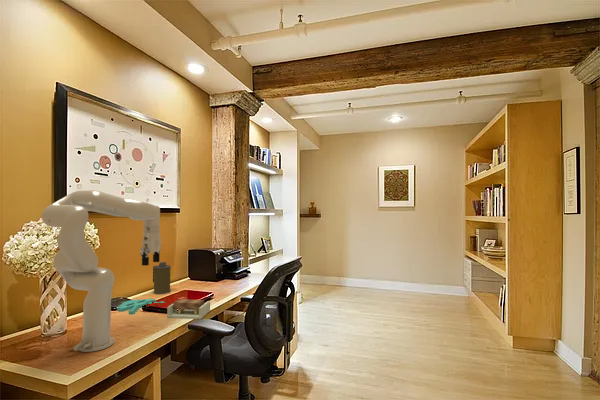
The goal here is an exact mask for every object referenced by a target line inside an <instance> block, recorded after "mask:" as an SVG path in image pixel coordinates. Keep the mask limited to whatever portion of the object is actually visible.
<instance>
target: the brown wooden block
mask: <svg viewBox="0 0 600 400" xmlns="http://www.w3.org/2000/svg"><path fill="white" fill-rule="evenodd" d="M173 303H174V308H173V309H183V310H199V308H200V307H201V306H202V305H203V304H205V300H204V299H189V298H188V299H186V298H179V299H177V300H175V301H173Z"/></svg>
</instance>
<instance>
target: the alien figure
mask: <svg viewBox="0 0 600 400" xmlns="http://www.w3.org/2000/svg"><path fill="white" fill-rule="evenodd" d="M152 302H154V303H165V304H166V302H165V301H162V300H161V301H156V299H153V298H148V299H147V298H144V299H143V298H142V299H130V300H127V301H123V302H122V303H121V304H119V306H118V307H117V308H116V310H117V311H118V312H121V313H123V312H127V311H128V315H130V316H131V315H135V314H136V313H137V311H139V309H141V308H143V307H142V306H144V305H147V304H152Z"/></svg>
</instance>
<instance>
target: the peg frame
mask: <svg viewBox="0 0 600 400" xmlns="http://www.w3.org/2000/svg"><path fill="white" fill-rule="evenodd" d="M173 308H174V302H173V303H171V304H170V305H168V306H166V309H167V312H166V314H167V317H166V318H168V319H188V320H189V319H191V320H192V319H193V320H194V319H196V320H198V319H199V320H201V319H203V318H204V317H205V316H207V315H208V314H209V312H211V301H210V300H208V301H206V302H204V304H203V305H202V306H201V307H200V308H199V310H183V309H178V311H177V309H173Z"/></svg>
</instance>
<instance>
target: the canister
mask: <svg viewBox="0 0 600 400" xmlns="http://www.w3.org/2000/svg"><path fill="white" fill-rule="evenodd" d="M167 262H168V261H167ZM167 262H166V261H159V262H158V263H159V265H153V267H152V283H153V294H154V295H166V294H169V293H170V292H171V268H172V266H171V265H169V264H167Z"/></svg>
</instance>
